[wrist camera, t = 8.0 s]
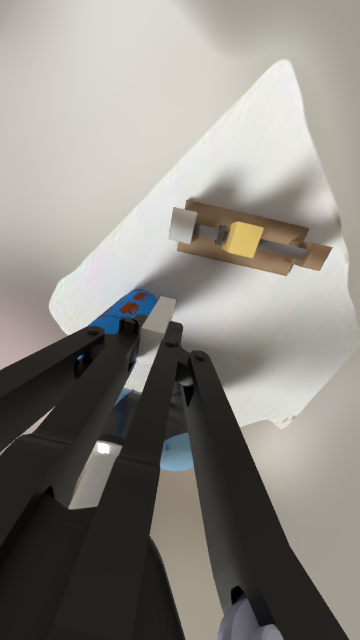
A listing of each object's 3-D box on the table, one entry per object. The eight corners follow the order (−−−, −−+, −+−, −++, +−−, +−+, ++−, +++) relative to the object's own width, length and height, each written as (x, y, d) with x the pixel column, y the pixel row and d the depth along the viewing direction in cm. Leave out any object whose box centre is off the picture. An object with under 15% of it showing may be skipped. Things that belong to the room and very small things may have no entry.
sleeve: (241, 252, 36) (252, 258, 28) (222, 248, 36) (228, 252, 28) (249, 228, 34) (264, 227, 26) (229, 224, 34) (237, 221, 26)
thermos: (114, 302, 50) (45, 358, 28) (142, 281, 47) (90, 325, 24) (139, 331, 54) (96, 402, 31) (168, 313, 50) (141, 378, 28)
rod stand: (286, 275, 43) (310, 287, 33) (173, 249, 43) (166, 253, 33) (308, 229, 38) (343, 227, 29) (182, 199, 38) (176, 188, 29)
